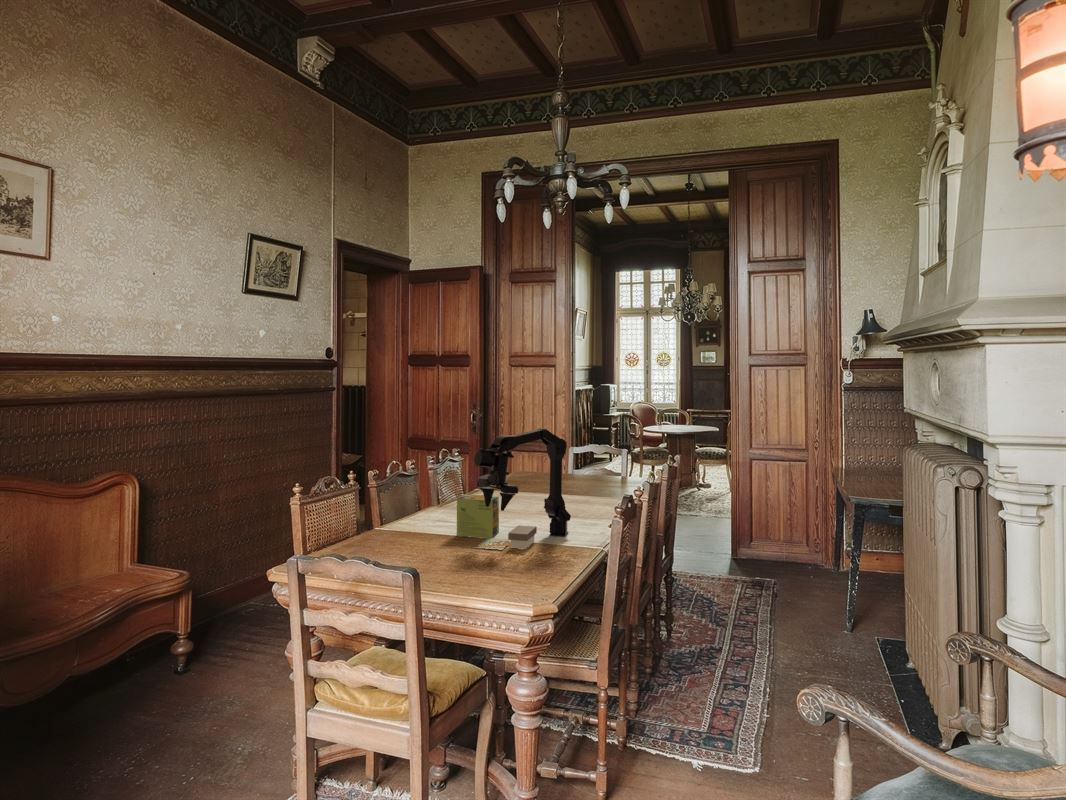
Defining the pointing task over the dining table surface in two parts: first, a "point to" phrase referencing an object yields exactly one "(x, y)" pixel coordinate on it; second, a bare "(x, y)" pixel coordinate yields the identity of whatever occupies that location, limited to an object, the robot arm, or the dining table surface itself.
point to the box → (522, 543)
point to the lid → (522, 533)
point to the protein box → (477, 516)
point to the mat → (494, 543)
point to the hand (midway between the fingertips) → (494, 508)
